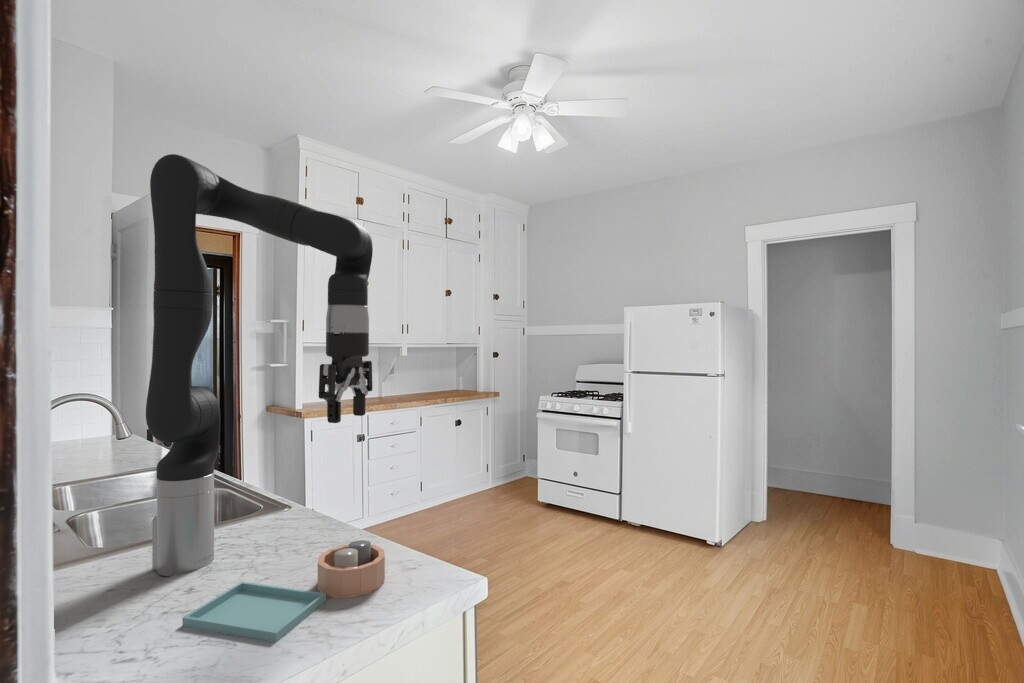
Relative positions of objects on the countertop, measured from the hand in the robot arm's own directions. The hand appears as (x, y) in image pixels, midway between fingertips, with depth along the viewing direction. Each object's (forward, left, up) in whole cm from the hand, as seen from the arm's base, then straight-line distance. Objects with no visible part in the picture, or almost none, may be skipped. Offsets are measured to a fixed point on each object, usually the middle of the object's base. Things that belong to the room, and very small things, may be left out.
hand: (347, 418), depth 100 cm
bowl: (+4, -5, -28) cm, 29 cm away
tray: (-4, -18, -28) cm, 34 cm away
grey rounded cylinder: (+4, -3, -27) cm, 28 cm away
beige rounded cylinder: (+4, -7, -27) cm, 28 cm away
